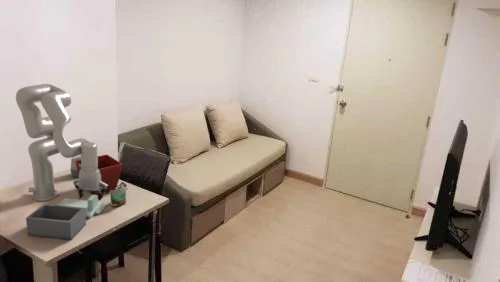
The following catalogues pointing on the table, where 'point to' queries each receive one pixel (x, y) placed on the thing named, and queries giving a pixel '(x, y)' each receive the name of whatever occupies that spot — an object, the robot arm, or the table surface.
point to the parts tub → (56, 222)
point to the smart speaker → (73, 165)
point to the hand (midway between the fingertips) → (90, 198)
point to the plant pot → (106, 172)
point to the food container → (118, 195)
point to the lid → (85, 205)
